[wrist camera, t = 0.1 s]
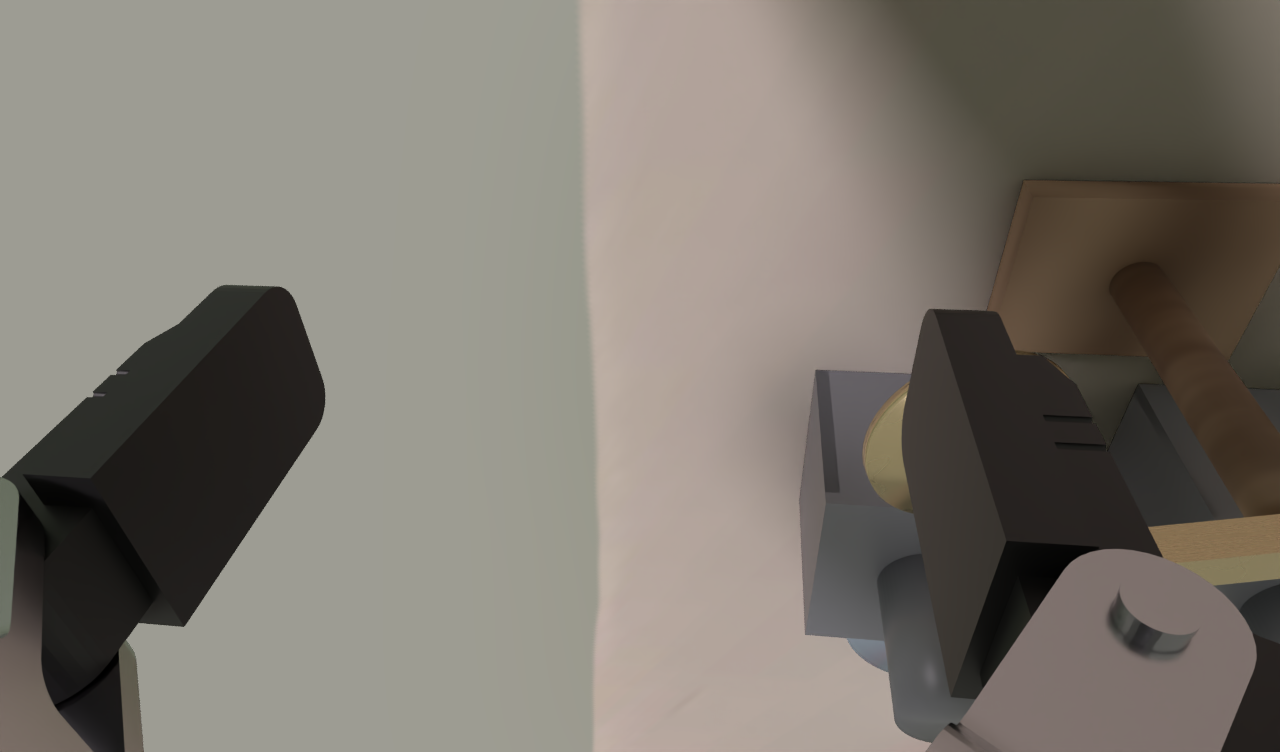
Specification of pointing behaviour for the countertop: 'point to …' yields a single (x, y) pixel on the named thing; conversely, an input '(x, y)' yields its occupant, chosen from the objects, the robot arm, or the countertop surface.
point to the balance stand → (1154, 298)
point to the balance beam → (1197, 546)
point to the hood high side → (868, 554)
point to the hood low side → (1188, 485)
